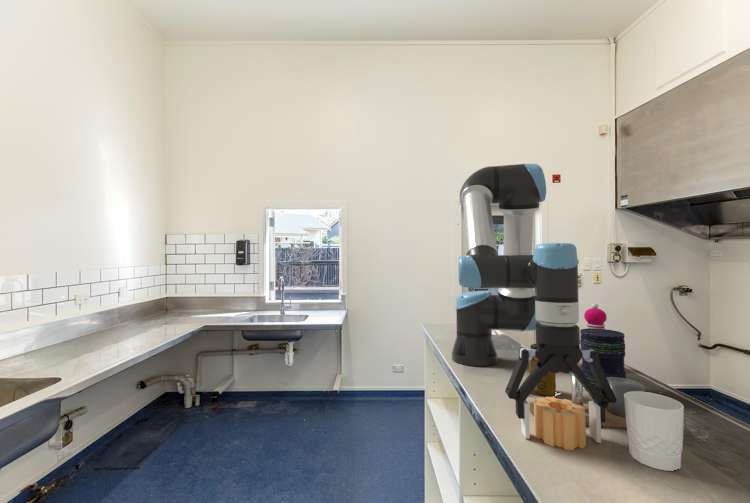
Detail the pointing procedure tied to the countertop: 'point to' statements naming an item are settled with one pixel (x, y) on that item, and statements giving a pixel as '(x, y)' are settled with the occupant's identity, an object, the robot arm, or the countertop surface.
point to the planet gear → (560, 423)
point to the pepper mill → (595, 318)
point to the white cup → (654, 429)
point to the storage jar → (604, 352)
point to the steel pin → (577, 391)
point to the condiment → (543, 382)
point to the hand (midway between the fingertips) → (559, 437)
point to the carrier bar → (609, 422)
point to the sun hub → (621, 393)
